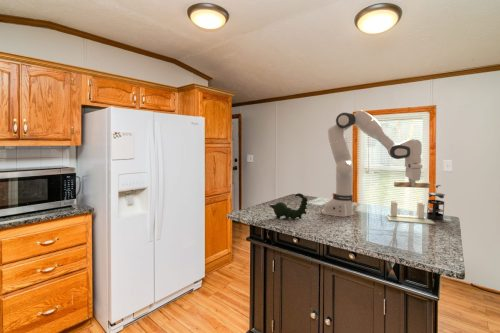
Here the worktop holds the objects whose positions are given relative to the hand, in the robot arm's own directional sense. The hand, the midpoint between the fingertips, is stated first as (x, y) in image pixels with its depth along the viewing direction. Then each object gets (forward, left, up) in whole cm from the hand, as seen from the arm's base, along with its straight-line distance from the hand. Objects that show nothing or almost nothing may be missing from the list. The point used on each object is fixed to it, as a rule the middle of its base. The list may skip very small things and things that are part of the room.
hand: (411, 185), depth 172 cm
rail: (0, 0, -1) cm, 1 cm away
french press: (+17, +9, -23) cm, 30 cm away
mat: (0, -1, -23) cm, 23 cm away
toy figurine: (-77, -19, -23) cm, 83 cm away
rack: (0, +8, -23) cm, 24 cm away
